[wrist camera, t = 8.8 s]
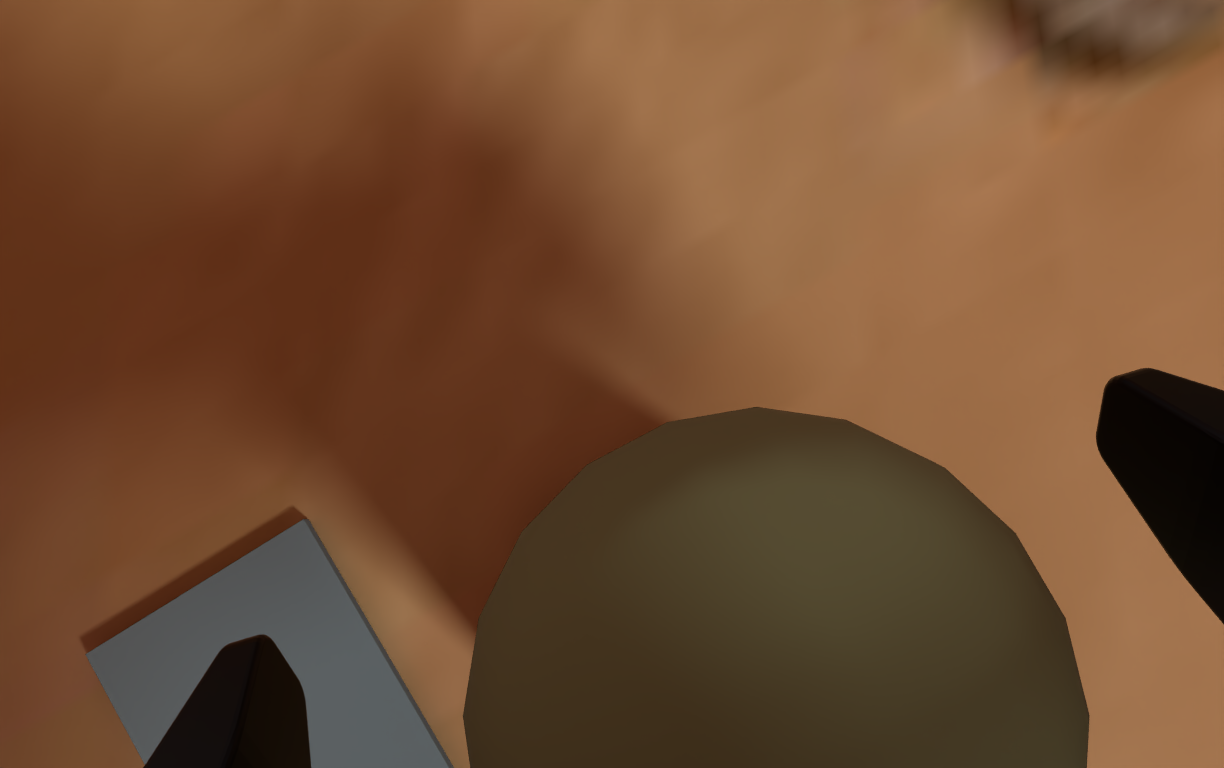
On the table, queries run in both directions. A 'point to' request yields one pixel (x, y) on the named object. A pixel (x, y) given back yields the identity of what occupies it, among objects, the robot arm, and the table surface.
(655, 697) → the olive green pawn
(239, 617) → the label panel
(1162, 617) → the table surface
